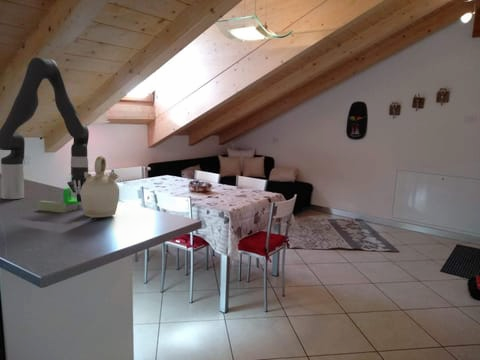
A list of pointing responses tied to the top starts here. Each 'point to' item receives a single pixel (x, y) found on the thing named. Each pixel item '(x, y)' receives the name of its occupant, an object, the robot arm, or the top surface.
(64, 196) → the mechanical part
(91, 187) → the jug
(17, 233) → the top surface
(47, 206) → the low bench
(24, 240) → the top surface
